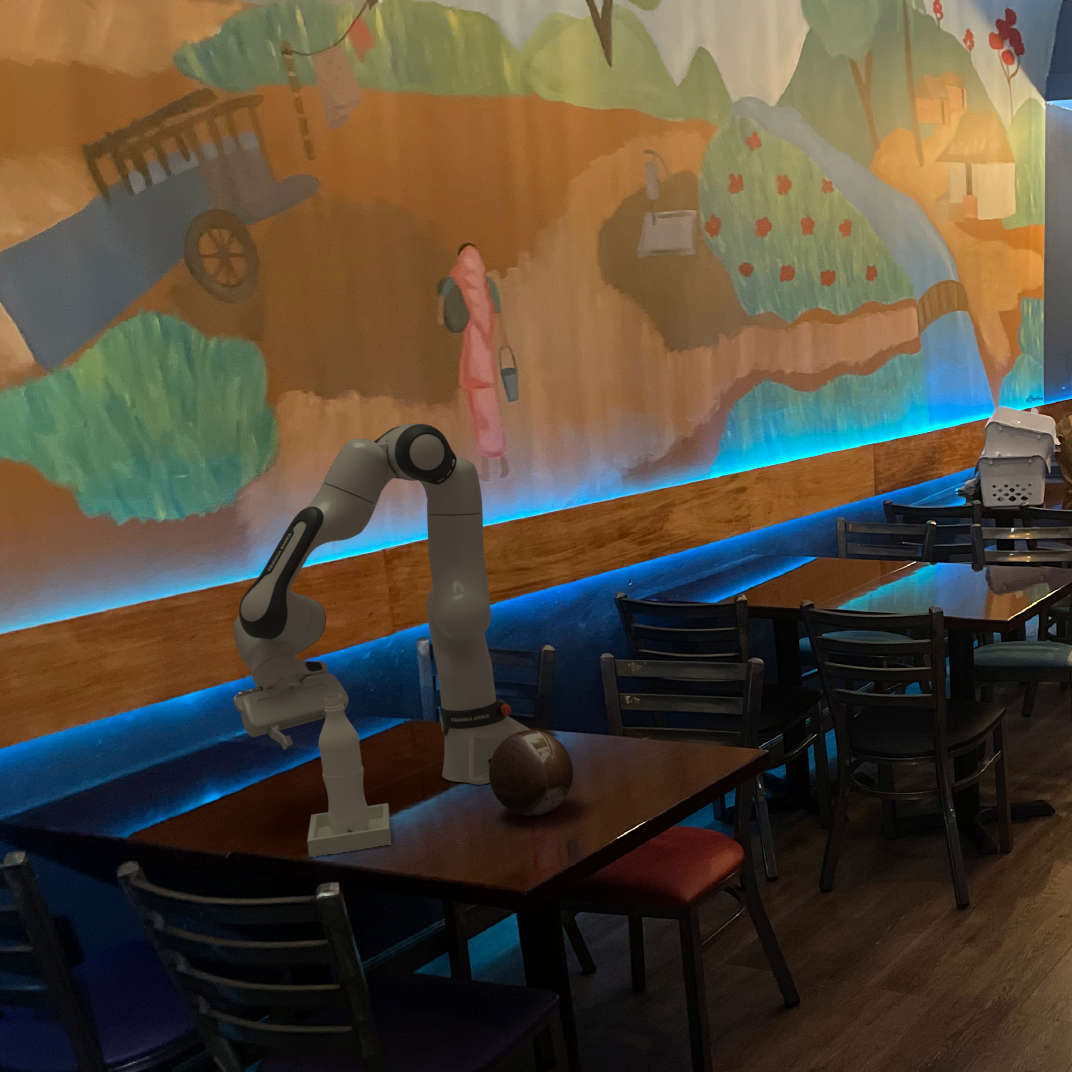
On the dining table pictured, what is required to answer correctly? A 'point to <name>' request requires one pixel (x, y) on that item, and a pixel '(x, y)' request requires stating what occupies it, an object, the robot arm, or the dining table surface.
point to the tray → (329, 843)
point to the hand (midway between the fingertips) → (312, 740)
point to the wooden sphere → (530, 772)
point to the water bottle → (342, 770)
